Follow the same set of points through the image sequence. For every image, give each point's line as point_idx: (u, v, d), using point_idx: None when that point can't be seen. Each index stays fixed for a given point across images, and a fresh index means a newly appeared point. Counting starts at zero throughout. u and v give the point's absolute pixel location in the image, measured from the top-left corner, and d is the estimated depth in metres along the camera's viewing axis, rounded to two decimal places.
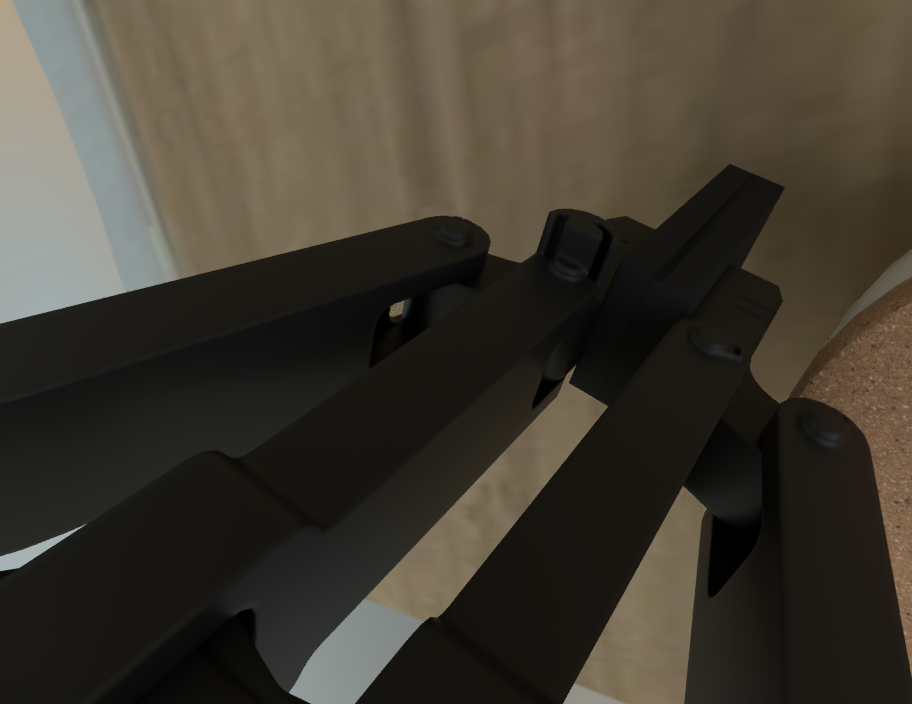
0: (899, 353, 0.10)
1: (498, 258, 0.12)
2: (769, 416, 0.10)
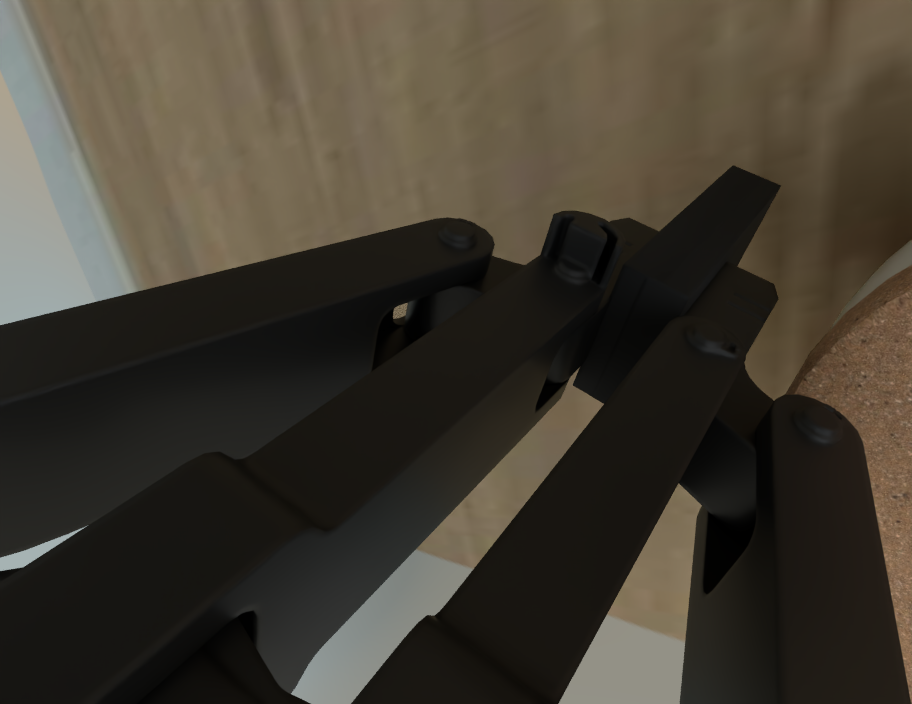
0: (889, 347, 0.10)
1: (502, 260, 0.12)
2: (763, 413, 0.10)
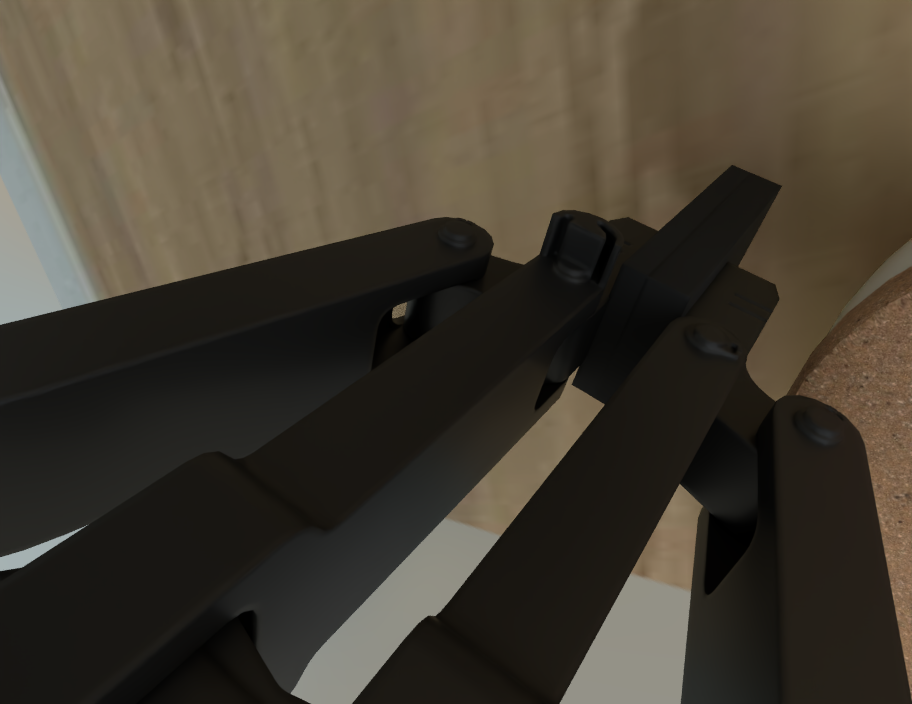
0: (891, 348, 0.10)
1: (501, 260, 0.12)
2: (764, 414, 0.10)
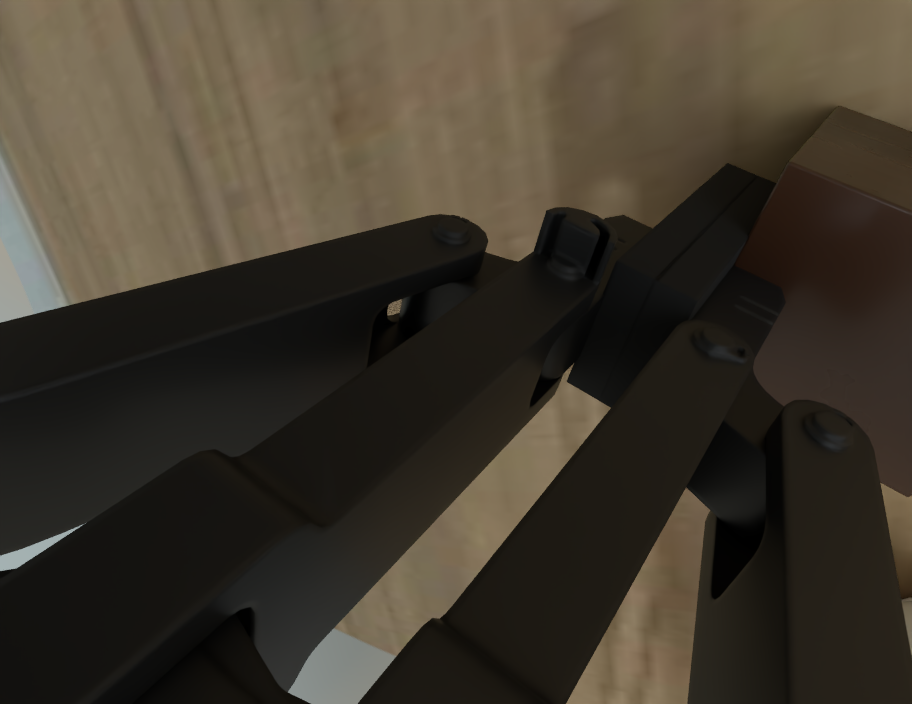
0: None
1: (495, 257, 0.12)
2: (773, 418, 0.10)
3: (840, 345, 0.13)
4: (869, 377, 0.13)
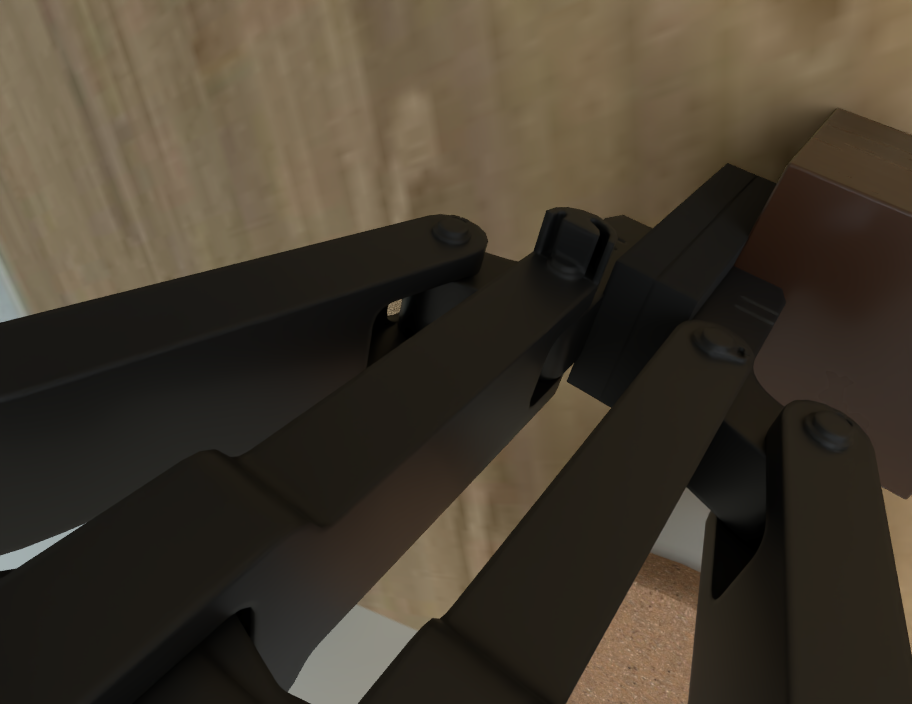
0: None
1: (495, 256, 0.12)
2: (773, 418, 0.10)
3: (838, 347, 0.13)
4: (867, 379, 0.13)
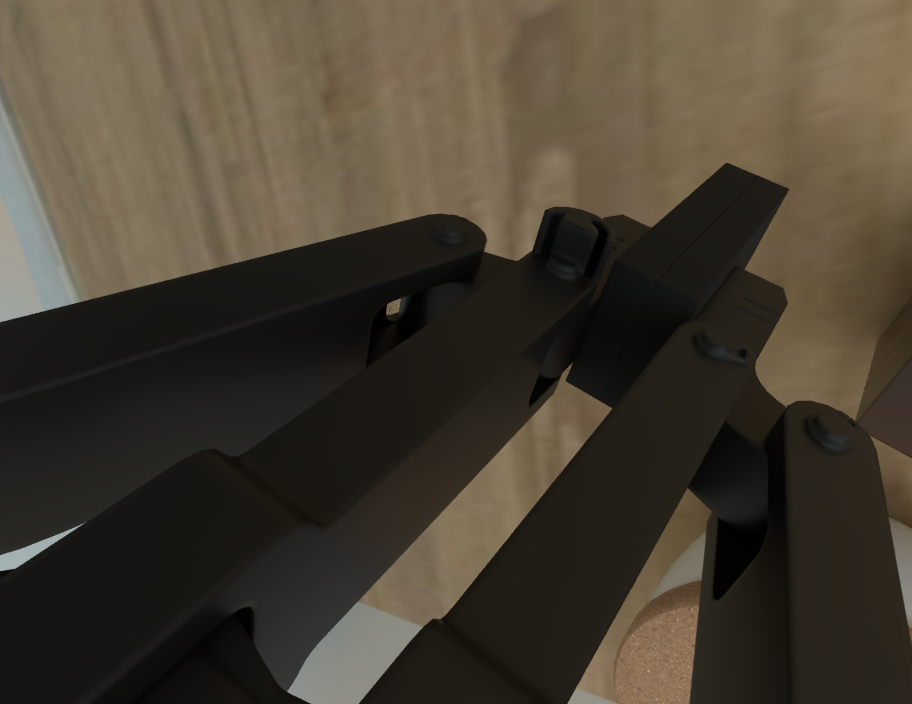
0: (664, 635, 0.19)
1: (494, 256, 0.12)
2: (775, 419, 0.10)
3: None
4: None
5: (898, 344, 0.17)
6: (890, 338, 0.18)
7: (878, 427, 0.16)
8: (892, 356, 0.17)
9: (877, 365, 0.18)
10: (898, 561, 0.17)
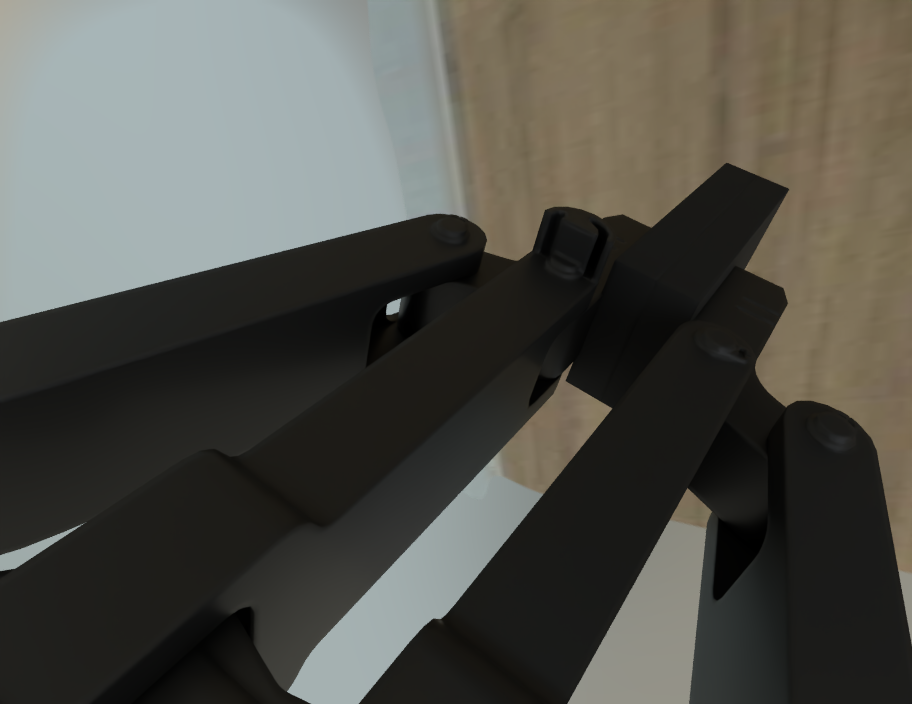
0: None
1: (494, 256, 0.12)
2: (775, 419, 0.10)
3: None
4: None
5: None
6: None
7: None
8: None
9: None
10: None
